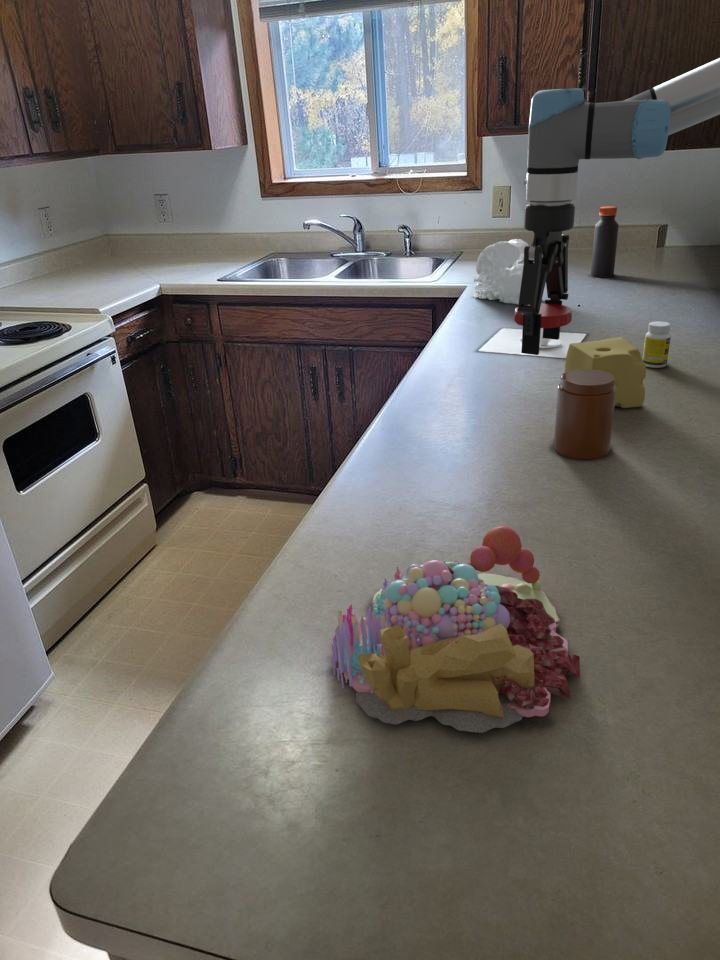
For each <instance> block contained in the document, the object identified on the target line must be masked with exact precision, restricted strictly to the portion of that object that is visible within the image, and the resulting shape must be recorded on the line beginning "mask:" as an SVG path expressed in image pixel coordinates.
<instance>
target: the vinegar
mask: <svg viewBox="0 0 720 960" xmlns="http://www.w3.org/2000/svg"><path fill="white" fill-rule="evenodd" d="M617 211H618V207H617V206H613V205H608V206H607V205H605V206H600V207H599V213H598V214H599V216H598V217H599V220H598V221H597V222H596V224H594V233H593V245H592V257H591V268H590V275H591V277H596V278H611V277H613V276H614V275H615V266H616V258H617V257H616V256H617V248H618V247H617V246H618V237H619V227H620V225H619V223H618V222H617V221H616V217H617V214H618V213H617Z"/></svg>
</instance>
